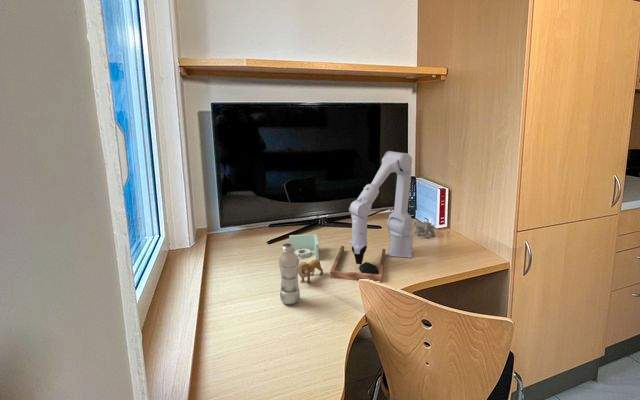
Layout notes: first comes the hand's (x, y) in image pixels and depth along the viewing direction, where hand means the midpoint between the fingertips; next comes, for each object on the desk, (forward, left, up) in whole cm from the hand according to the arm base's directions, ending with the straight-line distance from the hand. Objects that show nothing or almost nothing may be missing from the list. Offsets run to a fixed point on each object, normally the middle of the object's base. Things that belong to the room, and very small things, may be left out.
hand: (359, 263), depth 141 cm
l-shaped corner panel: (+25, -6, -2) cm, 25 cm away
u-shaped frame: (0, -2, -1) cm, 2 cm away
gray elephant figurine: (-26, -38, -2) cm, 46 cm away
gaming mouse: (-4, +2, -2) cm, 5 cm away
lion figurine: (+16, +14, -2) cm, 21 cm away
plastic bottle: (+19, +30, -2) cm, 36 cm away
